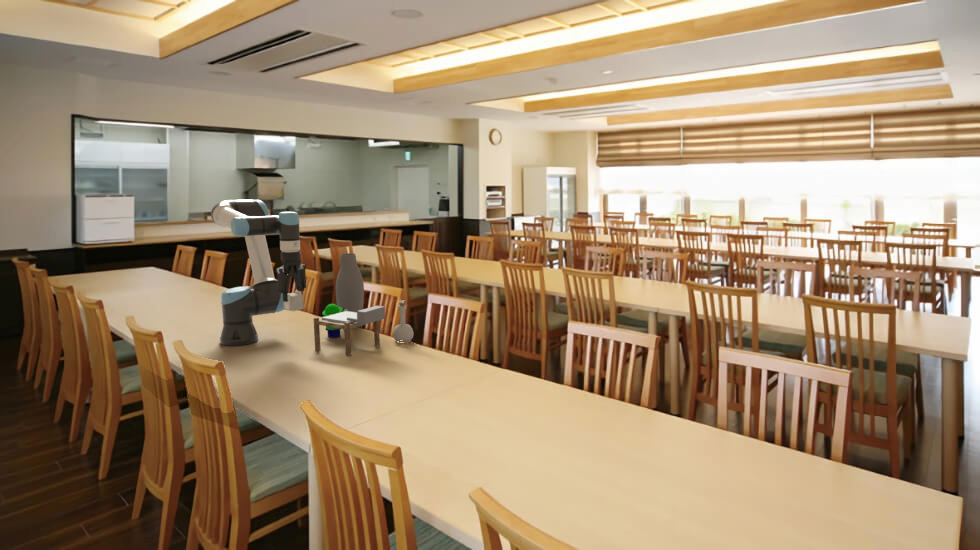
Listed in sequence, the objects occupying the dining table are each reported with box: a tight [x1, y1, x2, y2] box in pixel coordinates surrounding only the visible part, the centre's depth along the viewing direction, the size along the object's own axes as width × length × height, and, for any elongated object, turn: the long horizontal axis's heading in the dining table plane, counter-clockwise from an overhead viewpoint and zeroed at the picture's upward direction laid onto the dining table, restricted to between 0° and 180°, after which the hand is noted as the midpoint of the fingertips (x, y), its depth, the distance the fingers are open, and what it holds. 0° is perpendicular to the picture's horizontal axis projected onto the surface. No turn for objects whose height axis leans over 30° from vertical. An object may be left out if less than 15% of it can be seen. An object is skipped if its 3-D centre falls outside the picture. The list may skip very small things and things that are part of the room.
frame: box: [313, 310, 381, 357], centre depth 240 cm, size 18×18×14 cm
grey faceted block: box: [321, 305, 386, 326], centre depth 236 cm, size 22×14×6 cm, turn 60°
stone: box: [283, 292, 305, 312], centre depth 234 cm, size 6×5×6 cm
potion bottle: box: [392, 299, 414, 344], centre depth 249 cm, size 9×9×18 cm
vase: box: [335, 252, 365, 329], centre depth 274 cm, size 13×13×35 cm
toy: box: [321, 303, 344, 339], centre depth 257 cm, size 9×9×15 cm
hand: (293, 307), depth 234 cm, fingers closed on stone, 5 cm apart
